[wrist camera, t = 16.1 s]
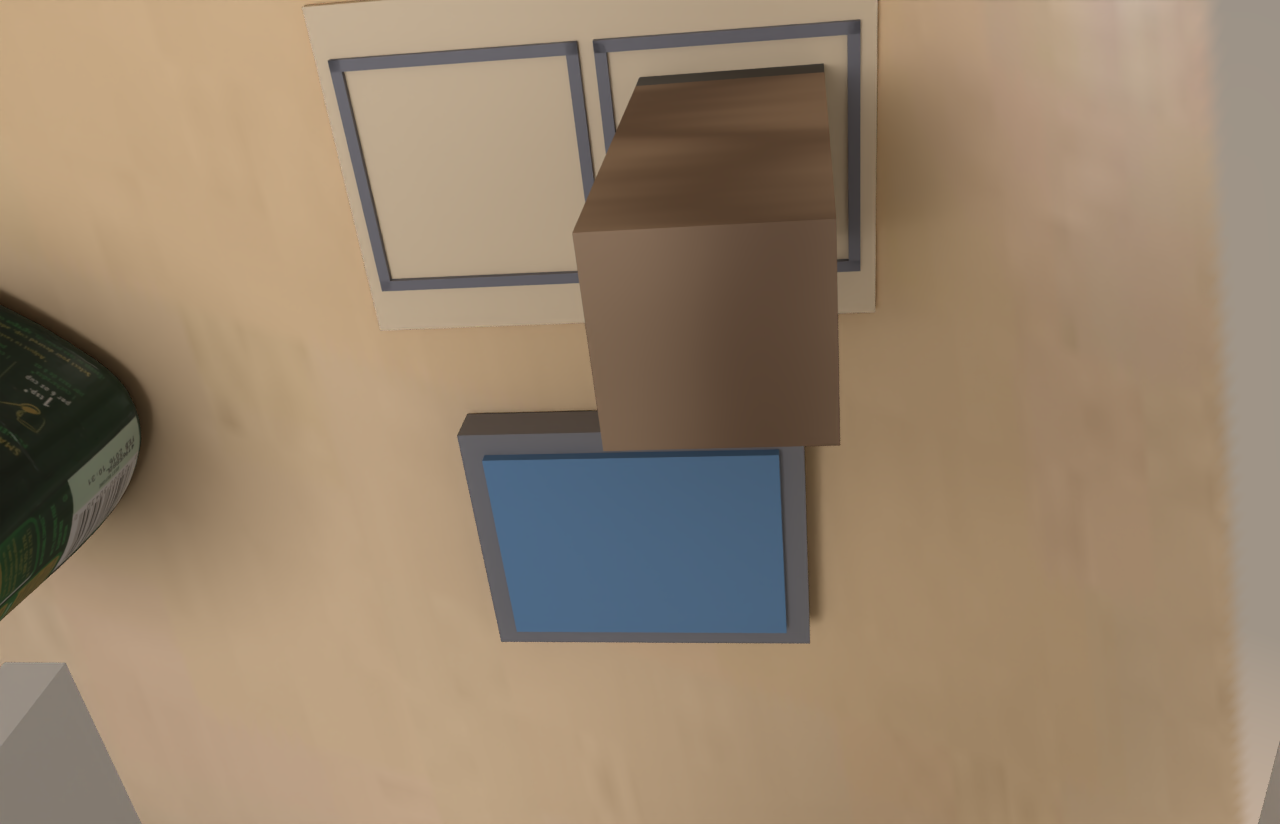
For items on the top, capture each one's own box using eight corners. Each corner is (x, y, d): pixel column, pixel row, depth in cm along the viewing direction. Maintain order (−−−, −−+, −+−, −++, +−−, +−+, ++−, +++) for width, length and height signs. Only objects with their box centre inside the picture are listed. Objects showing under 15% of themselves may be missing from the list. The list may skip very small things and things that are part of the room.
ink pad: (509, 616, 38) (499, 647, 37) (467, 414, 34) (454, 441, 33) (809, 617, 37) (810, 650, 35) (803, 405, 33) (803, 433, 31)
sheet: (382, 327, 33) (378, 332, 33) (304, 5, 28) (299, 8, 28) (874, 309, 31) (875, 314, 30) (877, -43, 26) (878, -39, 26)
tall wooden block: (656, 246, 30) (603, 450, 22) (639, 77, 28) (572, 233, 20) (827, 237, 30) (840, 445, 21) (823, 63, 27) (836, 218, 19)
